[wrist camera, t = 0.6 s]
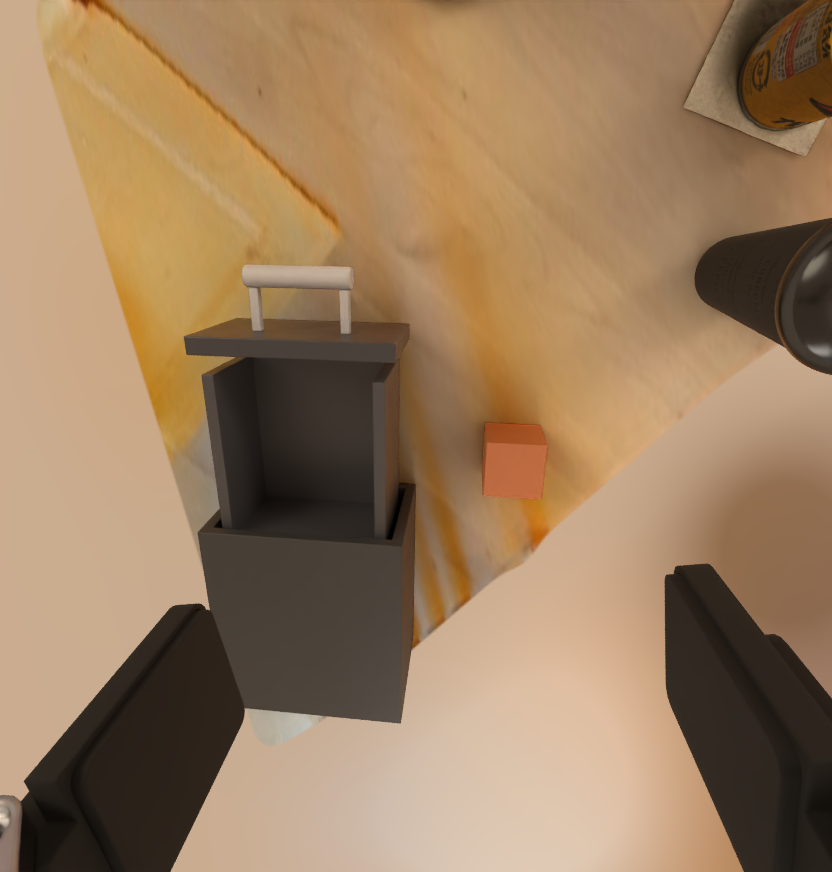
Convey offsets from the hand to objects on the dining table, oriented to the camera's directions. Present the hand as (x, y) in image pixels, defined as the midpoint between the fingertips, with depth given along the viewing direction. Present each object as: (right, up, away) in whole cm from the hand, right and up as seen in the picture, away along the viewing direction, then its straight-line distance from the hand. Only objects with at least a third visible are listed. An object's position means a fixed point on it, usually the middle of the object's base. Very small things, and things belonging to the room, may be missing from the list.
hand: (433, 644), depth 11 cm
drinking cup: (+22, +16, +26) cm, 37 cm away
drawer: (-8, +8, +30) cm, 32 cm away
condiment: (+22, +27, +21) cm, 40 cm away
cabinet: (-8, -7, +37) cm, 39 cm away
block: (+7, +3, +32) cm, 33 cm away
